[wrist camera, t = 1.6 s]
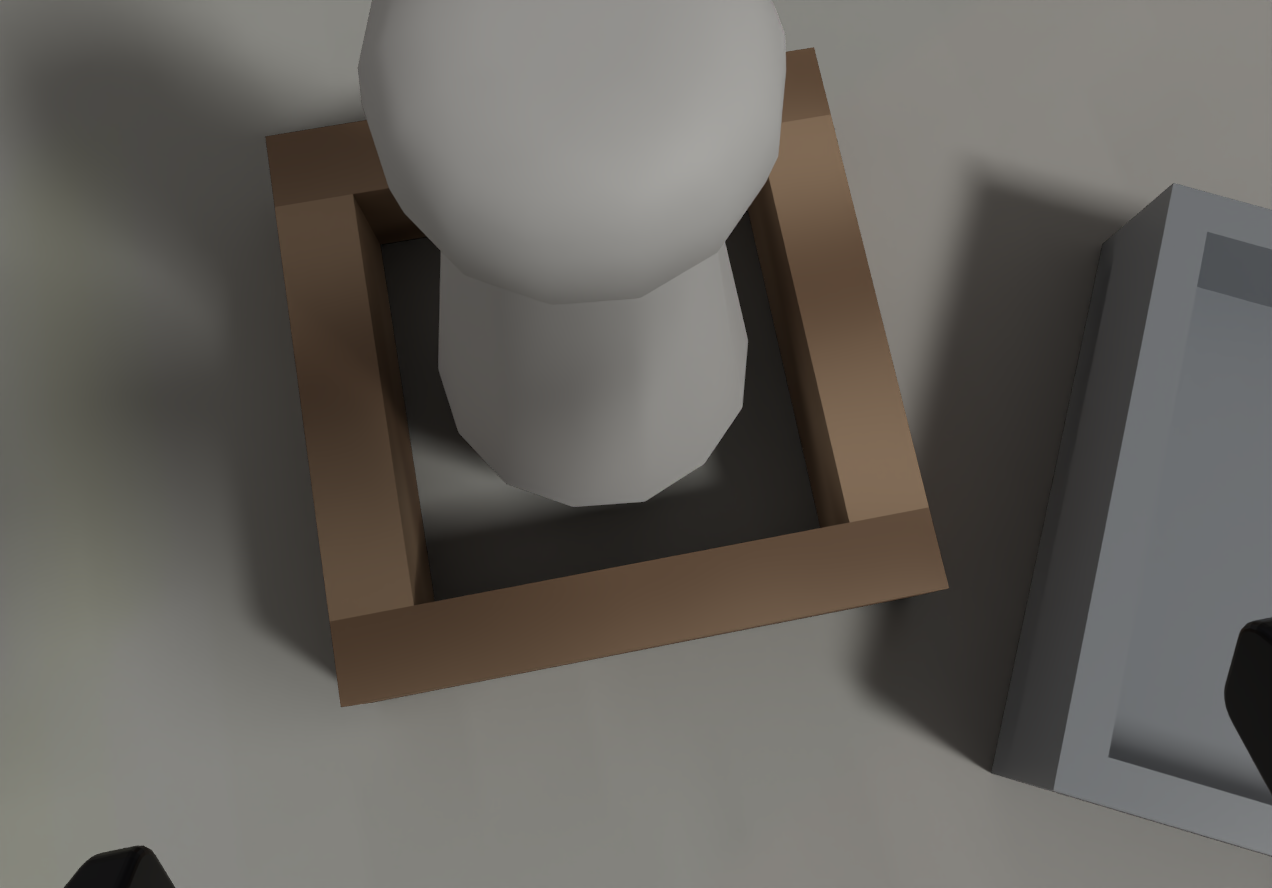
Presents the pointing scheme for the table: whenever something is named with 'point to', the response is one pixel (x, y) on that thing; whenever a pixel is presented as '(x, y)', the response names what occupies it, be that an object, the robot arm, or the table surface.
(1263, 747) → the robot arm
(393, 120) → the salt shaker
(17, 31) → the table surface
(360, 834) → the table surface
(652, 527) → the table surface
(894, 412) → the walnut socket
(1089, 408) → the grey tray
